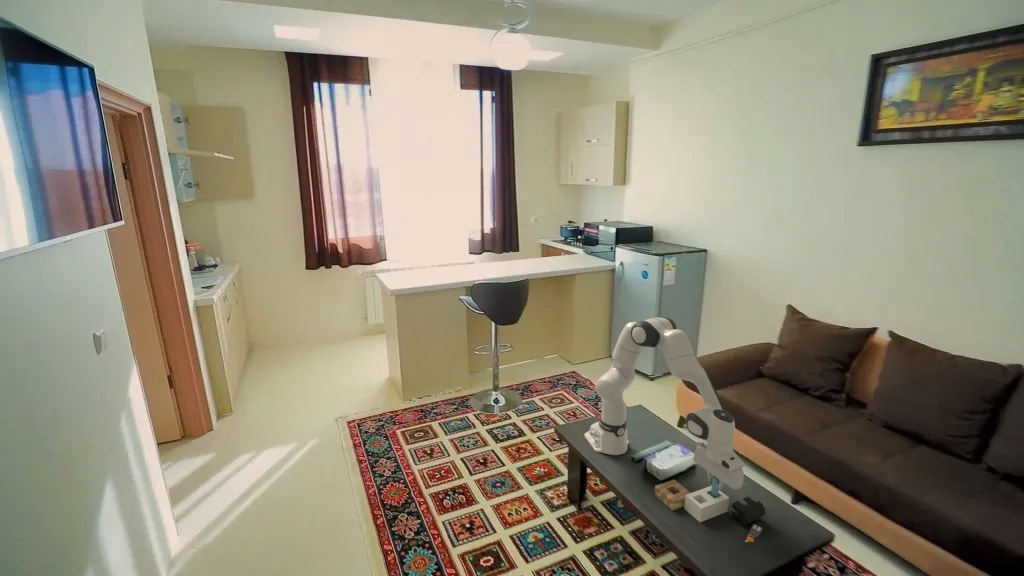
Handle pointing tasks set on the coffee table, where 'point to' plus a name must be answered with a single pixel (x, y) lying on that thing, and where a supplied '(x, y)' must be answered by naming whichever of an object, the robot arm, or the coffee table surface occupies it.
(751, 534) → the key chain
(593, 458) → the coffee table surface
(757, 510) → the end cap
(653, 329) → the robot arm
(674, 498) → the mount block
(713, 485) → the pin
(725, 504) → the white cinder block
